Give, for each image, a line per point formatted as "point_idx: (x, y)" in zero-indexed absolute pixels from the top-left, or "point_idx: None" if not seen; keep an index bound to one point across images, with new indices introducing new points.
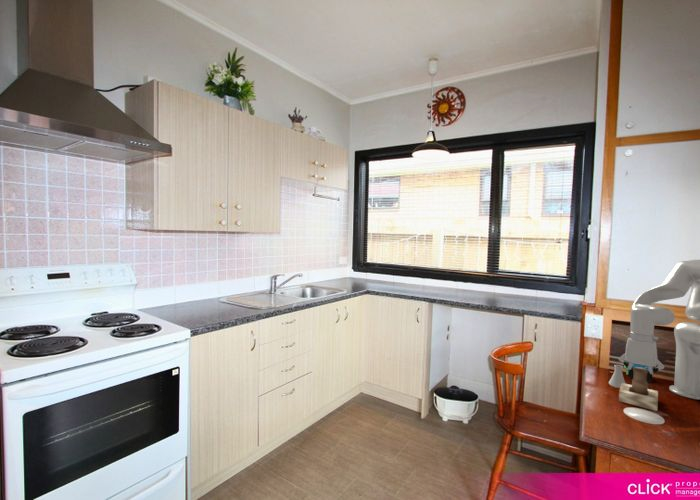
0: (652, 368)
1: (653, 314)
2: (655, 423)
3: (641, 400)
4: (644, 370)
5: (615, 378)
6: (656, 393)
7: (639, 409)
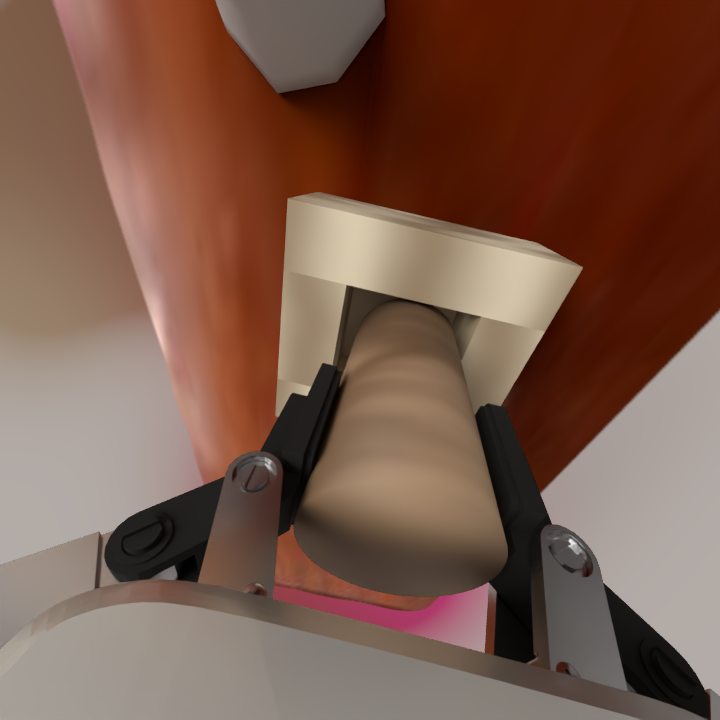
0: (592, 631)
1: None
2: None
3: None
4: (438, 575)
5: None
6: (527, 341)
7: None
